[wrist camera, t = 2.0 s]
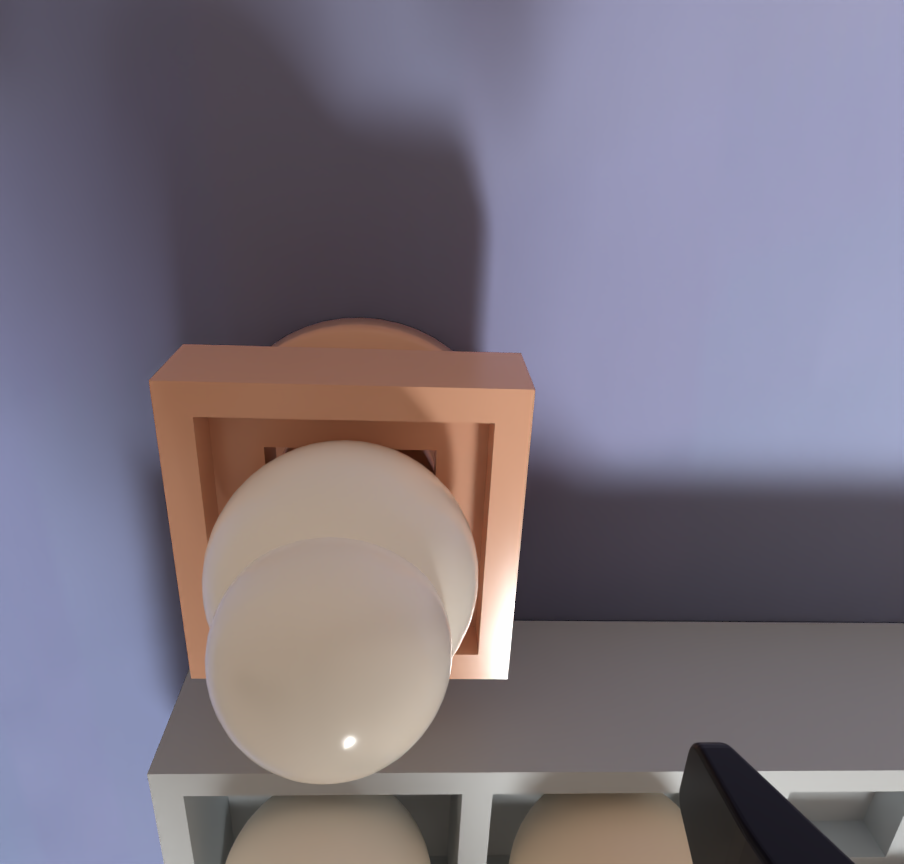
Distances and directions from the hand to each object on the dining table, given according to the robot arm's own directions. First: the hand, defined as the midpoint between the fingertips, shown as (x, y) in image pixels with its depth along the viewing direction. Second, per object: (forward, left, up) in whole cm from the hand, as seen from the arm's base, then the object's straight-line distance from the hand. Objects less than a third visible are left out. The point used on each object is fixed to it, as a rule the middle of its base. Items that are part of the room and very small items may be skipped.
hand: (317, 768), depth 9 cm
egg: (0, 0, -6) cm, 6 cm away
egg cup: (0, 0, -8) cm, 8 cm away
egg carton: (-8, -8, -8) cm, 14 cm away
